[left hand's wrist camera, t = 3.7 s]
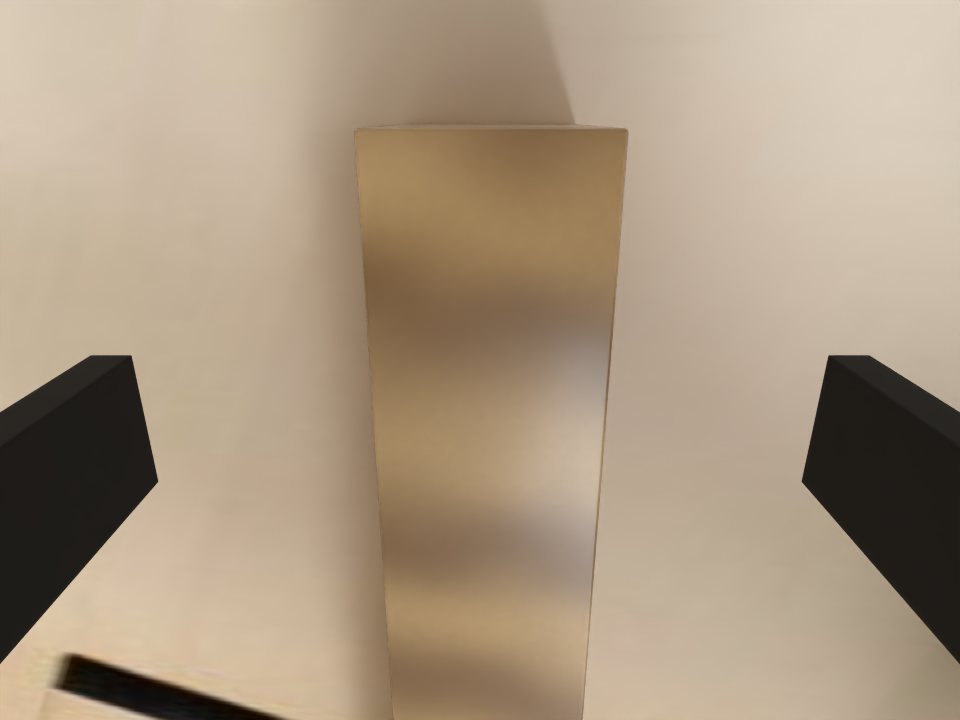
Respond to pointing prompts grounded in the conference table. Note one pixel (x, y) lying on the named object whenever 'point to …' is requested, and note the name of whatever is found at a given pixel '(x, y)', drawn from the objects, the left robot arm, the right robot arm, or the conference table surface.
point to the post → (489, 404)
